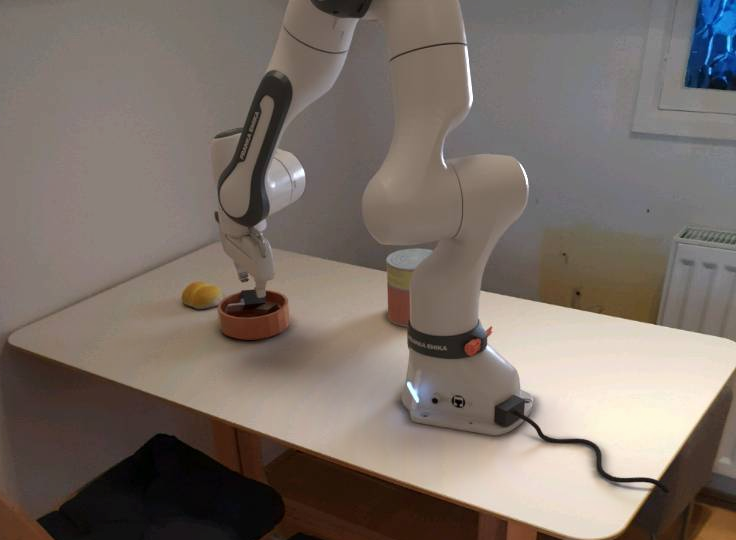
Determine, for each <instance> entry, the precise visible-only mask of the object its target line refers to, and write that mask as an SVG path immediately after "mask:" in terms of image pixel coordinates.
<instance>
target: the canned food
mask: <svg viewBox="0 0 736 540" xmlns="http://www.w3.org/2000/svg"><path fill="white" fill-rule="evenodd" d="M433 251H434V249H431V248H430V249H429V248H423V247H413V248H412V247H411V248H404V249H403V248H402V249H399V250H396V251H394V252H391V253H390V254H388V255H387V256H386V259H385V261H386V282H387V283H386V284H387V285H386V286H387V319H388V320H389V321H390V322H391V323H393V324H395V325H397V326H401V327H405V328H407V325H408V320H409V319H410V279H411V276H412V274H413V271H414V270H415V268H416V267H417V266H418V265H419V264H420V263H421V262H422V261H423V260H424V259H426V258H427V257H428V256H429V255H430V254H431V253H432V252H433Z"/></svg>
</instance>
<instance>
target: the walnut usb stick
mask: <svg viewBox="0 0 736 540" xmlns="http://www.w3.org/2000/svg"><path fill="white" fill-rule="evenodd" d="M277 310H278V304H276V303H270V302H267V303H265V304H263V305H261V306H259V307H258V308H256V315H257V317H259V316H264V315H268V314H271V313H273V312H276V311H277Z"/></svg>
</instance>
